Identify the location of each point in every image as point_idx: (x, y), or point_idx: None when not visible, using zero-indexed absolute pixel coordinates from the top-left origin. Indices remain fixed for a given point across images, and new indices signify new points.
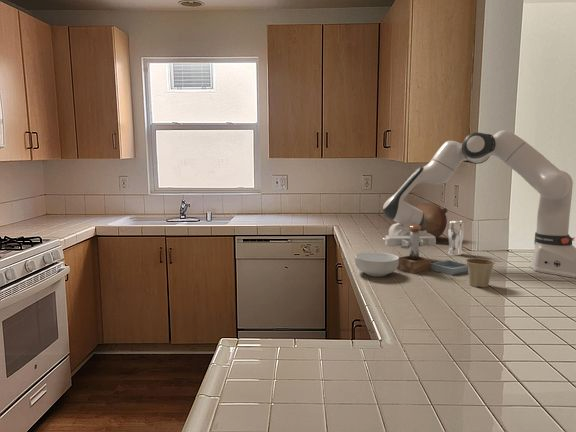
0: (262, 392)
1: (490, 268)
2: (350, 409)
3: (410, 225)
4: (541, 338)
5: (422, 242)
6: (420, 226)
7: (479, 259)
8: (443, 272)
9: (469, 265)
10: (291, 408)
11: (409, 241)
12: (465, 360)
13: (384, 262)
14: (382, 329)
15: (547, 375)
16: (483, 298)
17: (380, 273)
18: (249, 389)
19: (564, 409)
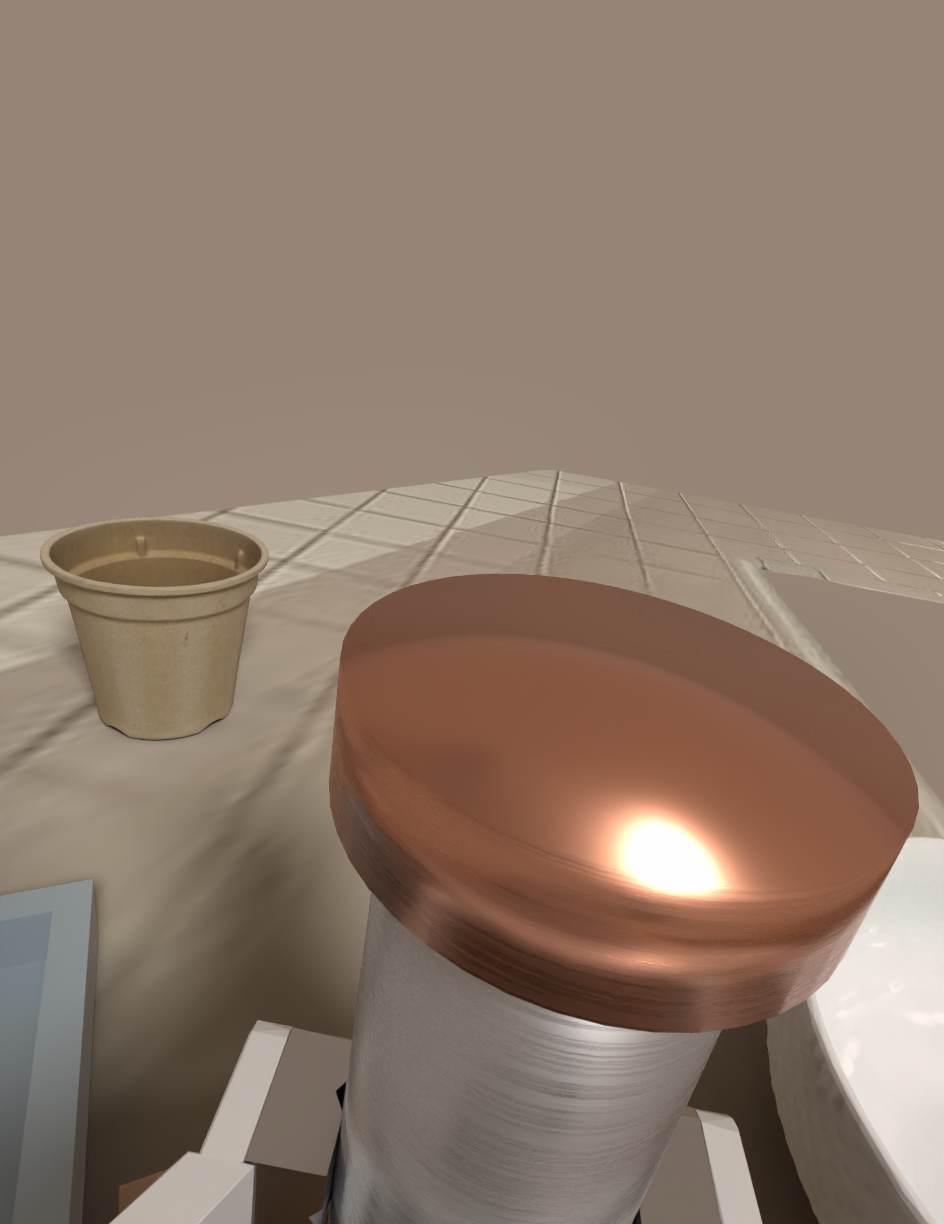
0: (907, 549)
1: (157, 552)
2: (781, 518)
3: (850, 811)
4: (413, 505)
5: (280, 1025)
6: (437, 583)
7: (71, 578)
8: (89, 1052)
9: (257, 580)
10: (852, 531)
11: (648, 1211)
12: (609, 516)
13: (932, 844)
14: (765, 587)
15: (504, 485)
16: (340, 613)
17: (929, 978)
18: (930, 555)
19: (535, 473)
